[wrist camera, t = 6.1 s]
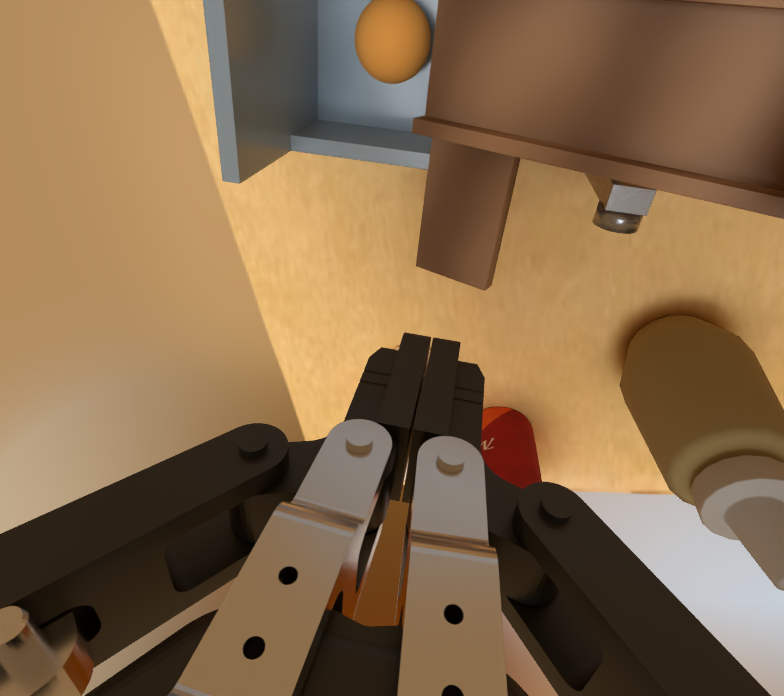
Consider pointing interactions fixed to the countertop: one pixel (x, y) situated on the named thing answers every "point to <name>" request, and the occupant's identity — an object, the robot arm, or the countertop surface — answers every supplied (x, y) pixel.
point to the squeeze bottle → (712, 430)
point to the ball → (392, 39)
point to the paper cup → (510, 446)
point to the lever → (596, 109)
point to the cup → (306, 87)
